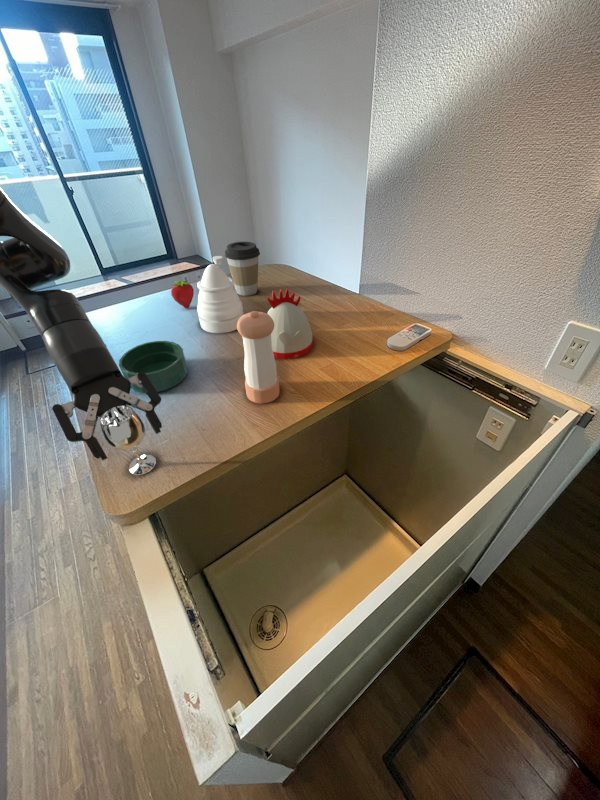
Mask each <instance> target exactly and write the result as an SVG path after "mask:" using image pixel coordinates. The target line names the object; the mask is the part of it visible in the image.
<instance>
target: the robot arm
mask: <svg viewBox="0 0 600 800" xmlns="http://www.w3.org/2000/svg"><path fill="white" fill-rule="evenodd" d="M0 237H10V238H9V239H6V240H3V241H0V286H1V287H2V288H3V289H4V290H5V291H7V293H8V294H10V295H11V296H12V298H13V299H14V300H15V301H16V302H17V303H18V304H19V306H21V307H22V308H23V310H24V311H25V313H26V314H27V315H28V317H29V318H30V320H31V321H32V324H33V325H34V327H35V328H36V330H37V332H38V333H39V335H40V337H41V339H42V341H43V343H44V346H45V348H46V351H47V353H48V355H49V357H50V359H51V360H52V362H53V364H54V365H55V367H56V369H57V371H58V372H59V374H60V375H61V377H62V379H63V381H64V383H65V384H66V387H67V388H68V390H69V391H70V393H71V395H72V400H71V401H68V402H65V403H62V404H59V403H56V404H53V405H52V407H51V408H52V412H53V413H54V416H55V418H56V419H57V422H58V424H59V426H60V428H61V430H62V432H63V433H64V436H65V438H66V440H67V441H68V442H71V443H78V442H85V444H86V446H87V447H88V449H89V450H90V452H91V454H92V455H93V457H94V458H96V459H97V460H98V459H101V460H102V461H105V460H107V459H108V456H107V454H106V452H105V450H104V449H103V447H102V445H101V444H100V442H99V440H98V438H97V437H96V436H94V435H95V431H96V428H97V424H98V420H99V418H101V416H102V414H103V413H104V412H106V411H107V410H109V409H110V408H113V407H116V406H121V405H126V406H129V407H131V408H132V409H133V408H134V409H137V410H140V411H142V412H144V413H145V418H146V419H147V421H148V423H149V425H150V426H151V428H152V430H153V432H154V433H155V435H158V434H159V433H161V432H162V431H161V429H162V428H163V425H162V422H161V420H160V418H159V417H158V415H157V413H156V411H155V409H156V407H158V405H160V404H161V401H162V397H161V396H160V393H158V392H157V391H156V389H155V388H154V386H153V385H152V383H151V382H150V380H149V378H148V377H147V375H146V374H145V372H143V371H140V372H138V374H137V375H135V376H133V377H131V378H129V379H127V378H125V377H124V376H123V373H122V371H121V369H120V367H119V365H118V364H117V363H116V361H115V359H114V357H113V356H112V354H111V352H110V350H109V349H108V348H107V347H108V346H107V345H106V344H105V342H104V340H103V338H102V336H101V335H100V333H99V331H98V330H97V329H96V328H95V326H93V324H92V322H91V320H90V319H89V316H88V315H87V313H86V311H85V310H84V308H83V306H82V304H81V303H80V301H79V300H78V299H79V298H77V297H76V295H75V294H74V293H72V292H71V291H70V290H66V289H61V288H60V289H58V288H57V289H56V288H55V289H45V290H34V289H36V288H39V287H42V286H44V285H47V284H51V283H53V282H55V281H59V280H61V279H63V278H65V277H67V276H68V275H69V273H70V271H71V260H70V257H69V255H68V254H67V252H66V250H65V249H64V248H63V247H62V245H61V244H60V243H59V242H58V241H57V240H55V238H53V236H51V235H50V234H48V232H46V231H45V230H43V228H41V227H40V226H39V225H37V224H36V223H35V222H34V221H32V220H31V218H29V216H27V215H26V214H25V213H24V212H22V211H21V209H19V208H18V206H17V205H15V204H14V202H12V200H11V199H10V198H9V197H8V195H7V194H6V193H5V192H4V190H3V189H2V188H1V187H0ZM132 384H134V385H136V386H137V387H139V388H141V387H143V388H144V390H145V392H146V393H145V394H146V395H147V396H148V398H149V401H148V402H147V401H144V400H143V399H140V398H139V397H138V396H135V395H132V394H131V393H130V392H131V385H132ZM75 408H76V409H78V410H81V411H83V412H85V413H86V415H85V419H84V426H83V430H82V431H79V432H77V431H76V429H75V427H74V424H73V422H72V421H71V419H70V418H71V417H73V416H74V409H75Z"/></svg>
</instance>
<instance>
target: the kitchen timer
mask: <svg viewBox="0 0 600 800" xmlns="http://www.w3.org/2000/svg"><path fill="white" fill-rule="evenodd" d="M278 293H279V294H278V297H277V295H276V294H275V291H274V290H272V292H271V294H272V298H269V296H266V299H267V301H268V303H269V305H270V308H269V309H268V311H267V312H266V314H268V315H269V316H270V317H271V318H272V319H273V321H274V329H273V331H272V333H271V342H272V351H273V354H274V358H275V359H284V360H288V359H295V358H299V357H302V356H304V355H306V354H307V353H309V352H310V351H311V350H312V347H313V331H312V328H311V325H310V322H309V319H308V317H307V316H306V313H305V312H304V310H303V309H302V308H300V306H299V304H300V301H301V296H300V295H298V296H297V298H296V300H295V296H296V293H295V291H293V292H292V293H291V294H290V292H289V289H288V287H287V288H285V293H284V294H283V290H282V288H280V289H279V292H278Z"/></svg>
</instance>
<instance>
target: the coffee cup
mask: <svg viewBox="0 0 600 800" xmlns="http://www.w3.org/2000/svg"><path fill="white" fill-rule="evenodd" d="M260 255H261V252H260V249H259V248H258V247H257V244H256V243H255V242H252V241H234V242H231V243H229V244H228V245H226V249H225V250H224V257H225V258H226V260H227V264H228V267H229V271H230V275H231V278H232V279H233V280H234V285H233V287H234V289H235V290H236V292H237V295H238V296H243V297H249V296H252V295H256V293H258V285H259V284H258V283H259V256H260Z"/></svg>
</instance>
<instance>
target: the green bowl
mask: <svg viewBox="0 0 600 800" xmlns="http://www.w3.org/2000/svg"><path fill="white" fill-rule="evenodd" d="M118 368H119V370H120V372H121V374H122V375H123V376H124V377H125V378H127V379H129V378H131V377H133V376H135V375H137V374H138V372H140V371H143V372H145V374H146V375H147V377H148V378H149V380H150V382H151V383H152V385H153V386H154V388H155V389H156V391H157V392H163V391H166V390H169V389H171V388H173V387H175V386H177V385H178V384H180V383H181V382H183V380H184V379H185V378H186V377H187V375H188V372H189V365H188V363H187V360H186V356H185V352H184V348H182V346H181V345H180V344H179V343H176V342H174V341H168V340H154V341H149V342H144V343H142V344H138V345H136V346H134V347H132V348H130V349H128V350H127V351H125V353H124V354H122V355H121V357H120V359H119V361H118ZM130 390H132V391H135V392H138V393H143V394H147V393H146V392H145V390H144V388H143V387H141V388H139V387H137V386H136V385H134V384H132V385H131V388H130Z"/></svg>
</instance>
